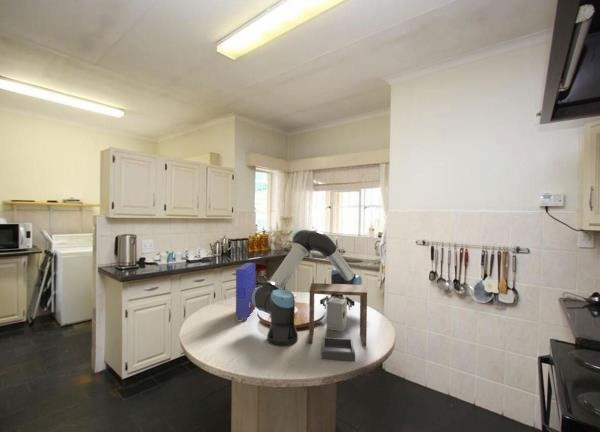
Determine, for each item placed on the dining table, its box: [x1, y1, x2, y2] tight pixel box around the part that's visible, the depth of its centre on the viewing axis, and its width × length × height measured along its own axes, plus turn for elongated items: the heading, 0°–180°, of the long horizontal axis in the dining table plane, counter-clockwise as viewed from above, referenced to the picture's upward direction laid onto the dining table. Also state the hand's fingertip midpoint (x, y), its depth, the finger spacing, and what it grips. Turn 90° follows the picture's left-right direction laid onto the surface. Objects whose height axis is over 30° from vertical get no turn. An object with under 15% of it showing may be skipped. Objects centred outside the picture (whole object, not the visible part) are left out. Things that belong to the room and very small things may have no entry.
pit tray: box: [321, 336, 356, 362], centre depth 127 cm, size 14×14×4 cm
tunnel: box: [308, 282, 368, 347], centre depth 142 cm, size 27×14×26 cm, turn 84°
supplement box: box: [326, 298, 348, 333], centre depth 155 cm, size 9×9×15 cm
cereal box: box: [235, 262, 256, 322], centre depth 174 cm, size 22×6×30 cm, turn 175°
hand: (337, 307), depth 159 cm, fingers open, 13 cm apart
